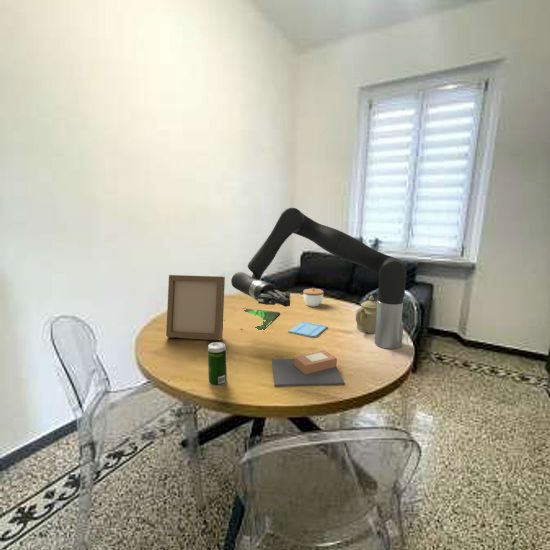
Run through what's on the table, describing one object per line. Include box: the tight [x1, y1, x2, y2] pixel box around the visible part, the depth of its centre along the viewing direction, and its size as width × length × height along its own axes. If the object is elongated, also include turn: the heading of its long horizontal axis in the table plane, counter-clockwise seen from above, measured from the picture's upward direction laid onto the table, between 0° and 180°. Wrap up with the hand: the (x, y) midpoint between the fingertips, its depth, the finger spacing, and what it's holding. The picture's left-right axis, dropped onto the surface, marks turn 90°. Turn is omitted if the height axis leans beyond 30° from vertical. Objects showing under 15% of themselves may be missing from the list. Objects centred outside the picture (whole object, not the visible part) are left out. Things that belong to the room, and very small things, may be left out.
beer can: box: [207, 341, 228, 388], centre depth 103 cm, size 5×5×12 cm
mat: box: [271, 358, 346, 387], centre depth 111 cm, size 21×17×1 cm
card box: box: [293, 349, 338, 375], centre depth 113 cm, size 3×7×12 cm
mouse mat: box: [244, 308, 281, 331], centre depth 160 cm, size 27×22×1 cm
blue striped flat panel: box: [288, 321, 328, 338], centre depth 147 cm, size 14×12×1 cm
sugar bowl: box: [355, 294, 377, 334], centre depth 146 cm, size 15×11×15 cm
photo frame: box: [165, 274, 226, 341], centre depth 140 cm, size 15×22×25 cm
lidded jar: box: [302, 287, 324, 308], centre depth 182 cm, size 11×11×9 cm
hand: (288, 303), depth 109 cm, fingers closed
